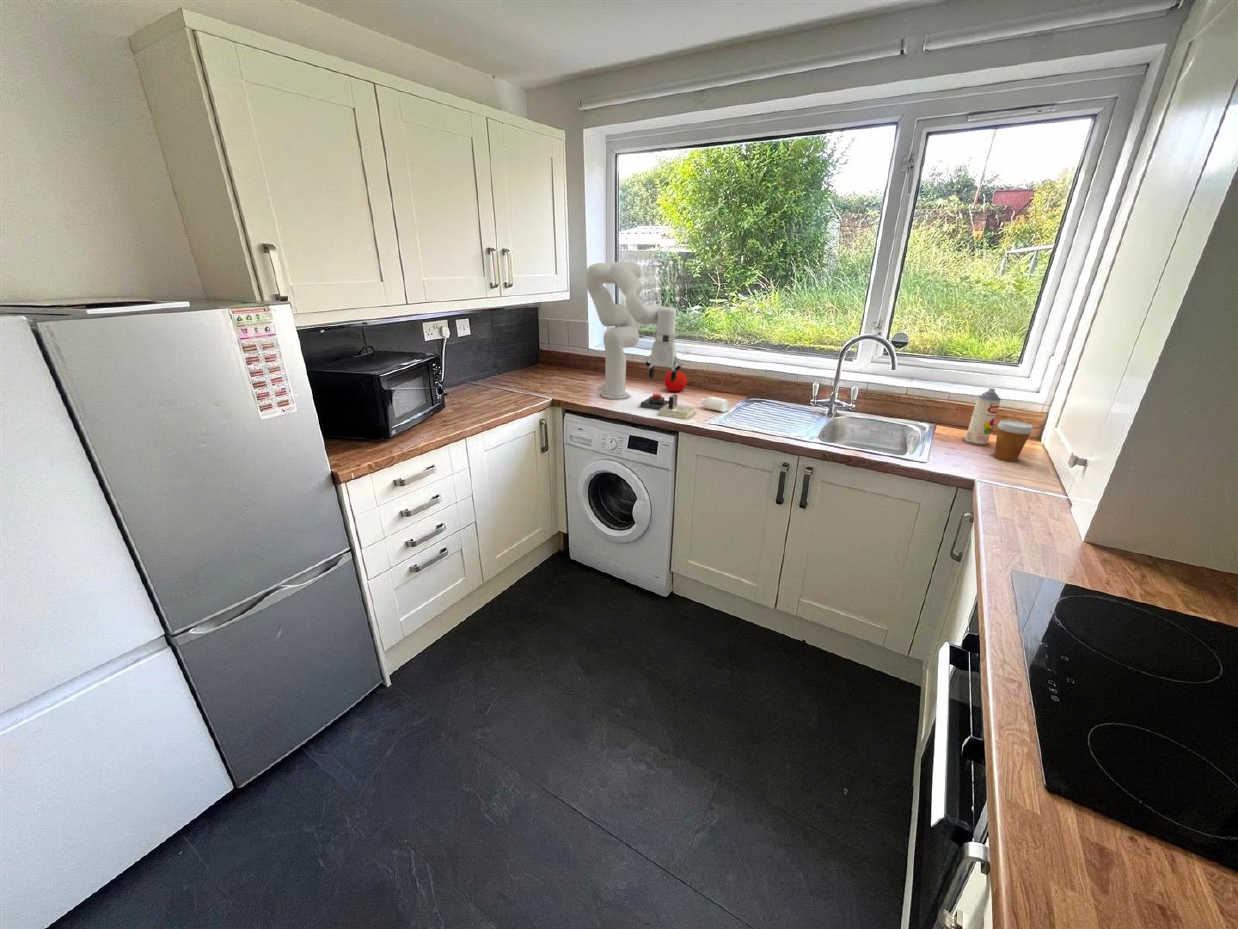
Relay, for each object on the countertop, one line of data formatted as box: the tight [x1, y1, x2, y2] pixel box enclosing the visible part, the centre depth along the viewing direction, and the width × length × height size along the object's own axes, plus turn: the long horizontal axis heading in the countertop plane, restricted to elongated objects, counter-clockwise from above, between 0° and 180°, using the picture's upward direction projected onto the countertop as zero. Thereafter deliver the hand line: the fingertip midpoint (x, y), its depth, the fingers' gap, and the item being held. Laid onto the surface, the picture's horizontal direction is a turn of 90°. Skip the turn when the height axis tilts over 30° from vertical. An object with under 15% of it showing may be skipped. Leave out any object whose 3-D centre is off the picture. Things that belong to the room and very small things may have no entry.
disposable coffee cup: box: [993, 419, 1034, 462], centre depth 165 cm, size 10×10×12 cm
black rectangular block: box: [668, 393, 679, 409], centre depth 208 cm, size 6×2×5 cm, turn 154°
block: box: [640, 395, 669, 411], centre depth 219 cm, size 11×9×4 cm
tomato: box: [664, 370, 688, 393], centre depth 247 cm, size 12×12×10 cm
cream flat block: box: [658, 404, 696, 420], centre depth 209 cm, size 13×10×3 cm
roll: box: [699, 396, 729, 413], centre depth 216 cm, size 6×12×6 cm, turn 51°
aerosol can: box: [964, 387, 1001, 446], centre depth 179 cm, size 7×7×20 cm
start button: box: [652, 393, 662, 399], centre depth 218 cm, size 4×4×2 cm
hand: (662, 379), depth 212 cm, fingers open, 9 cm apart
